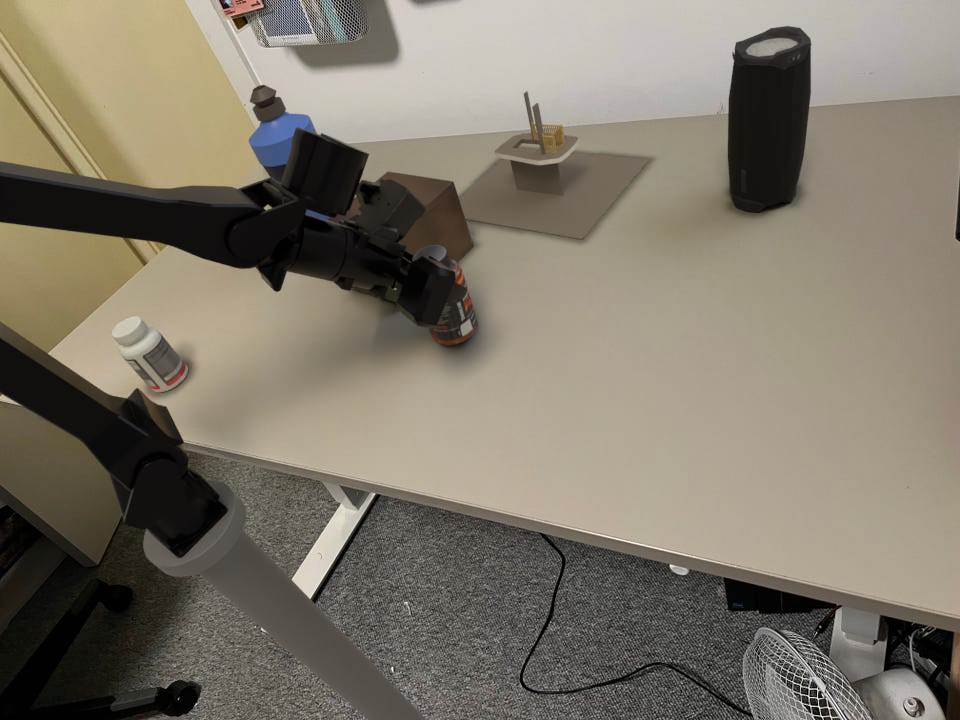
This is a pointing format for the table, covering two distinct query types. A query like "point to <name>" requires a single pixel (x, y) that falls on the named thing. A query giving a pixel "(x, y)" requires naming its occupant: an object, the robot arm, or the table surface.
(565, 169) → the architectural model
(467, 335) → the supplement bottle
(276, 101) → the water bottle
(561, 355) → the table surface
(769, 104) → the portable speaker
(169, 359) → the pill bottle
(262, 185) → the robot arm
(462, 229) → the cabinet
